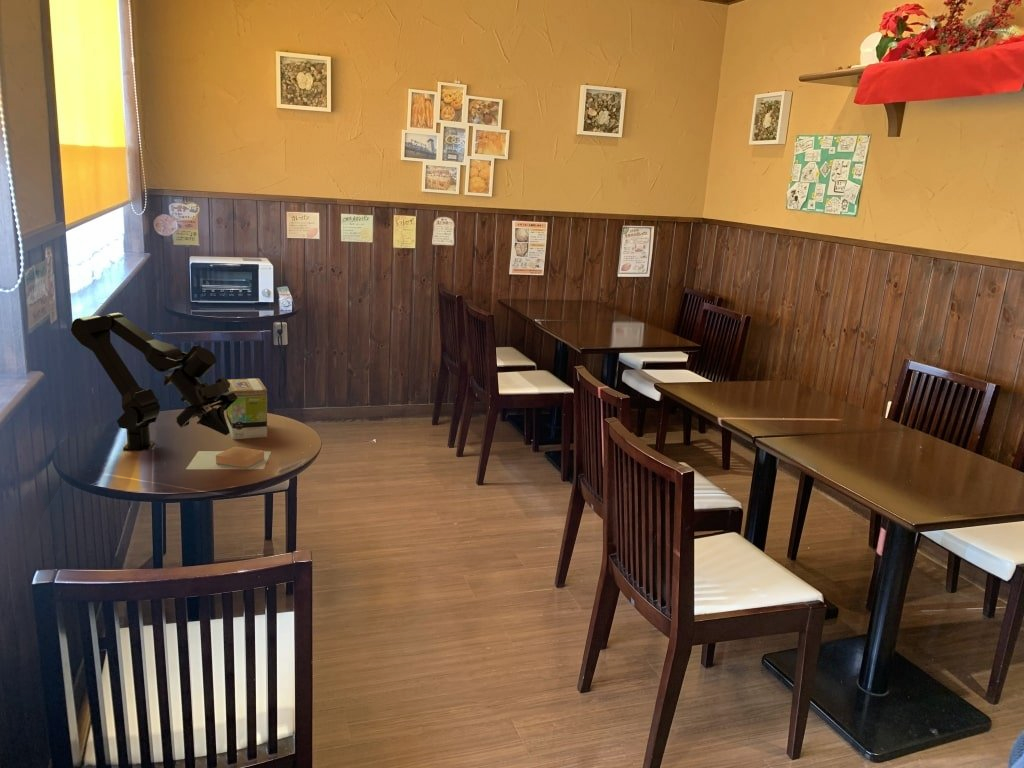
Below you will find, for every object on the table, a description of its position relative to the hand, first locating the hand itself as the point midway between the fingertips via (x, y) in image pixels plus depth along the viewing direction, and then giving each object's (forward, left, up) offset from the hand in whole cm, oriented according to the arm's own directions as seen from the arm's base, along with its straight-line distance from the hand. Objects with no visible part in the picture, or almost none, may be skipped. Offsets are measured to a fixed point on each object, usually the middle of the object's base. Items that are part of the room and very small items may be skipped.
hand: (228, 434), depth 202 cm
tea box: (-26, 0, -8) cm, 27 cm away
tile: (0, -1, -6) cm, 6 cm away
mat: (0, 0, -8) cm, 8 cm away
